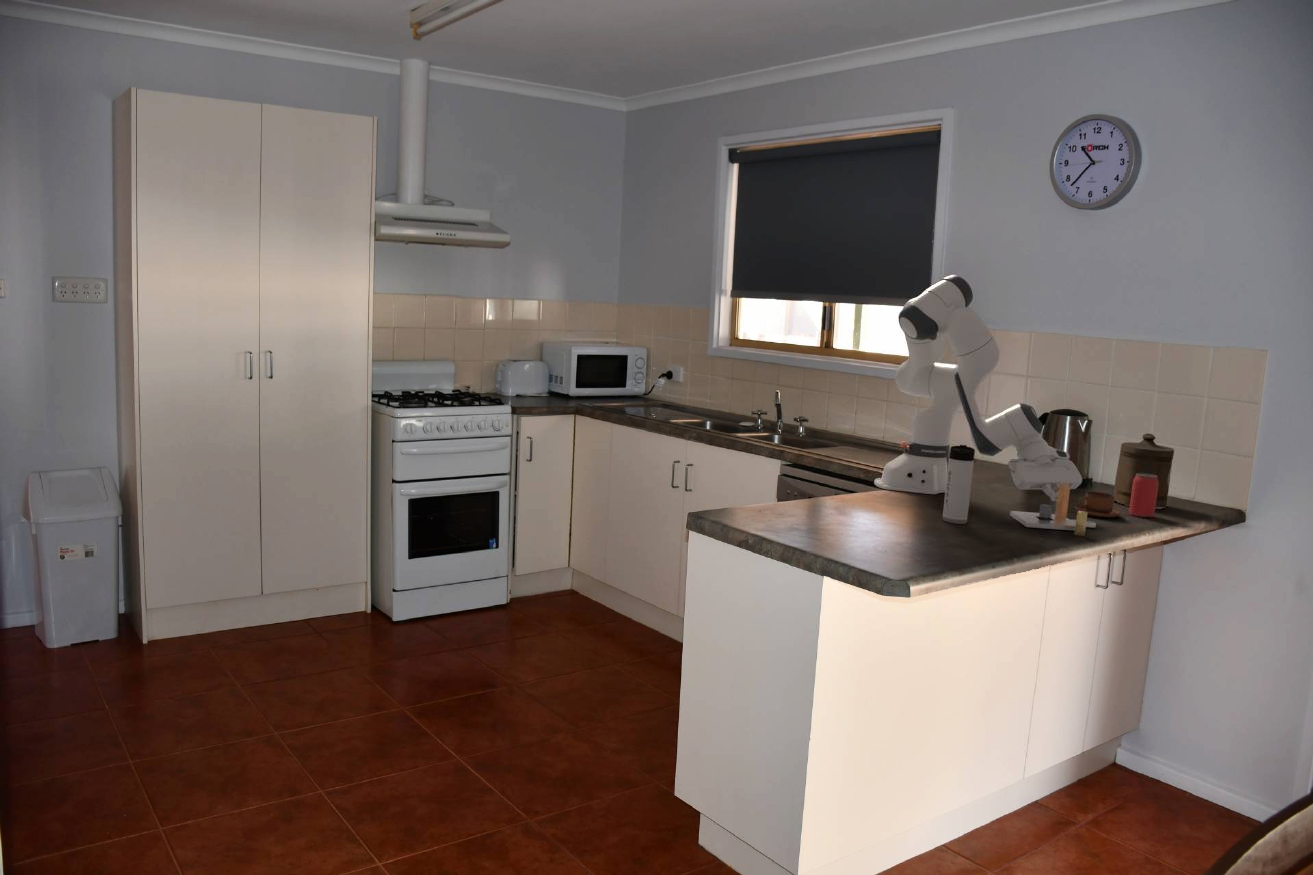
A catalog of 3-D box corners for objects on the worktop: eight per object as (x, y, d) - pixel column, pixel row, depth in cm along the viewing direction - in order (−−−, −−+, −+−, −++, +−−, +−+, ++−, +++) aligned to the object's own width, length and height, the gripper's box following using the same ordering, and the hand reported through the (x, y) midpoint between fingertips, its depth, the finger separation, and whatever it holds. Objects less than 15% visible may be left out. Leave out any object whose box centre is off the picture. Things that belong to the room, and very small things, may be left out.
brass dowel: (1076, 535, 252) (1079, 512, 251) (1073, 533, 255) (1076, 510, 254) (1086, 536, 252) (1089, 513, 251) (1082, 533, 255) (1085, 511, 254)
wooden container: (1177, 509, 297) (1187, 437, 294) (1137, 510, 293) (1147, 436, 289) (1140, 499, 311) (1150, 430, 308) (1101, 499, 307) (1111, 429, 303)
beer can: (1153, 515, 286) (1159, 474, 284) (1154, 519, 280) (1160, 478, 278) (1128, 511, 289) (1134, 471, 287) (1128, 515, 283) (1134, 474, 281)
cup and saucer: (1100, 521, 273) (1103, 499, 272) (1065, 511, 284) (1068, 490, 283) (1129, 519, 279) (1132, 498, 278) (1093, 509, 289) (1096, 489, 288)
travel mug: (967, 520, 262) (975, 446, 259) (966, 525, 256) (975, 449, 253) (943, 517, 264) (951, 443, 261) (941, 521, 258) (949, 446, 255)
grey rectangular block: (1040, 524, 262) (1042, 506, 262) (1036, 522, 265) (1038, 504, 265) (1051, 525, 262) (1054, 507, 262) (1047, 523, 265) (1050, 504, 265)
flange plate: (1026, 526, 257) (1030, 488, 256) (1009, 515, 271) (1014, 478, 270) (1103, 532, 256) (1109, 494, 255) (1083, 520, 270) (1088, 484, 269)
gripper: (1011, 452, 270) (1032, 493, 262) (1072, 452, 276) (1095, 492, 268) (1000, 466, 275) (1020, 507, 266) (1060, 466, 281) (1082, 506, 273)
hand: (1058, 499), depth 267 cm, fingers closed, pressing on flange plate
